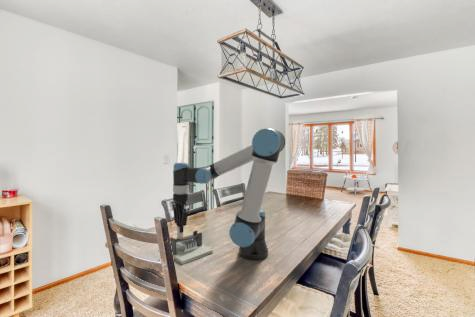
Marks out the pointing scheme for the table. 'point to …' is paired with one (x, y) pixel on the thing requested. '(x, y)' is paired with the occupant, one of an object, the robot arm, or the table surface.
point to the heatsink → (187, 246)
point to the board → (192, 254)
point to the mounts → (198, 240)
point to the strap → (187, 238)
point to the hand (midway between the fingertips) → (180, 237)
